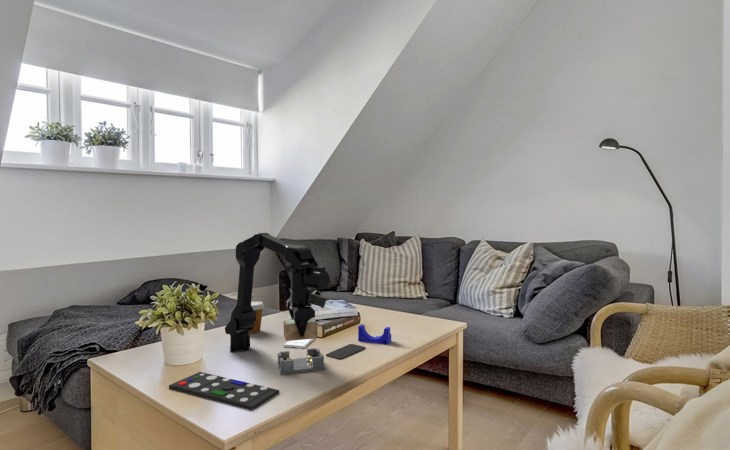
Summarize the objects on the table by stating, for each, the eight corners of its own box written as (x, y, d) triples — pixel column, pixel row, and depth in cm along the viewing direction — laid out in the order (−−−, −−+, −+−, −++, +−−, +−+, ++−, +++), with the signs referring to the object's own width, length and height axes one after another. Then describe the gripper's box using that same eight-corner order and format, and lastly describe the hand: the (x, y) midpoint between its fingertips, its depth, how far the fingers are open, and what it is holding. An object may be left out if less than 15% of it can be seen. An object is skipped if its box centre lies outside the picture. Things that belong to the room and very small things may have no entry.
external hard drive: (314, 340, 167) (304, 350, 154) (295, 338, 168) (283, 348, 156) (314, 336, 167) (304, 345, 154) (295, 334, 168) (283, 344, 156)
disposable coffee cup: (263, 334, 172) (262, 305, 172) (239, 335, 170) (238, 306, 170) (265, 328, 181) (264, 300, 181) (242, 329, 180) (241, 301, 180)
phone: (324, 354, 147) (350, 343, 159) (324, 357, 147) (350, 345, 159) (340, 359, 142) (366, 347, 154) (340, 361, 142) (366, 349, 154)
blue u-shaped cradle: (391, 341, 163) (391, 326, 163) (387, 345, 159) (387, 329, 159) (362, 338, 167) (362, 323, 167) (358, 341, 163) (358, 326, 163)
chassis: (280, 375, 129) (280, 362, 129) (276, 364, 139) (276, 352, 139) (325, 369, 134) (325, 357, 134) (318, 359, 143) (318, 347, 143)
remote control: (199, 376, 130) (199, 370, 130) (279, 395, 117) (279, 388, 117) (169, 390, 120) (168, 383, 120) (251, 412, 107) (251, 404, 107)
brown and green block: (285, 341, 132) (285, 324, 132) (283, 335, 137) (283, 319, 137) (317, 338, 135) (317, 321, 134) (314, 333, 140) (313, 317, 140)
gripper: (331, 289, 129) (331, 339, 130) (318, 280, 147) (318, 324, 147) (295, 291, 126) (295, 343, 126) (286, 281, 143) (286, 327, 144)
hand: (300, 333), depth 136 cm, fingers closed on brown and green block, 6 cm apart
